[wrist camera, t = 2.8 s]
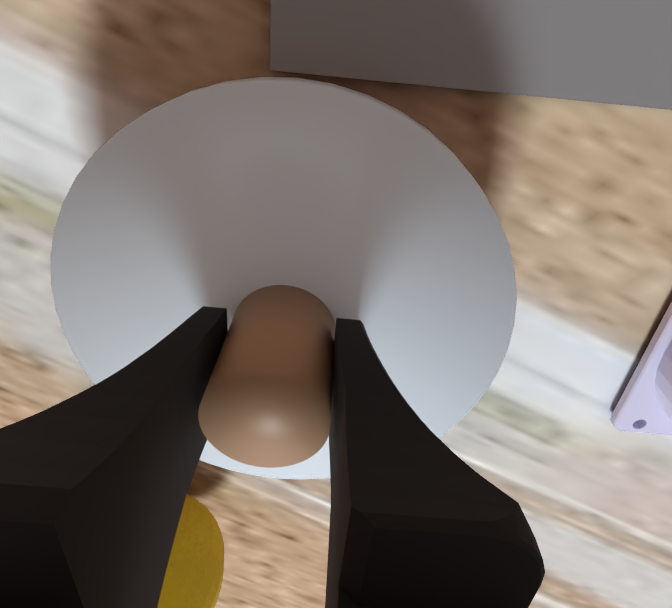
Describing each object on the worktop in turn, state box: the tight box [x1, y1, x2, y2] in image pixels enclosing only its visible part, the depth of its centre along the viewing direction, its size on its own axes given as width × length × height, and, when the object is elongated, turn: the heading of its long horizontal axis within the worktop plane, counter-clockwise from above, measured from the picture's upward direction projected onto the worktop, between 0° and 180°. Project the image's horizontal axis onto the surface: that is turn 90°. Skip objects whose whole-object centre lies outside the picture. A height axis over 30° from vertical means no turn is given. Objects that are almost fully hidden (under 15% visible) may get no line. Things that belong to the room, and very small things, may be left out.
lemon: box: [157, 493, 224, 608], centre depth 20 cm, size 6×6×8 cm
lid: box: [51, 77, 517, 479], centre depth 12 cm, size 12×12×4 cm
